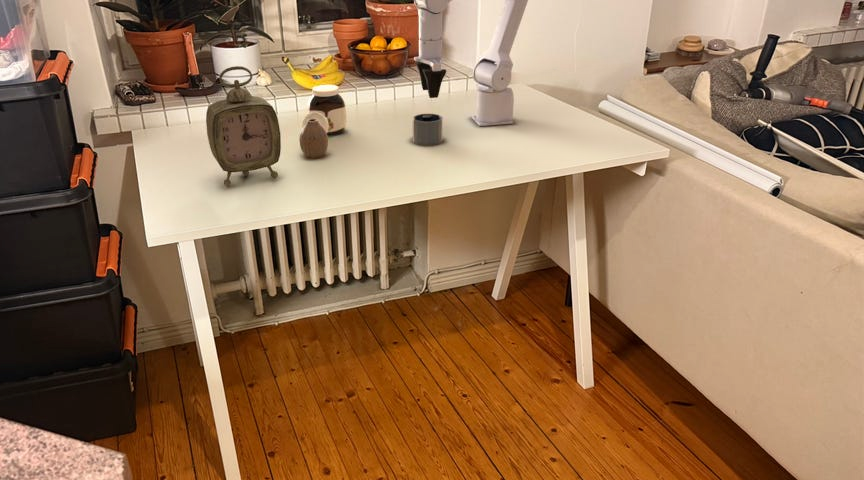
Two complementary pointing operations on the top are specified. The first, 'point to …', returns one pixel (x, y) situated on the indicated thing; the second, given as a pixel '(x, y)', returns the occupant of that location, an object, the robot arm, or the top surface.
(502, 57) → the robot arm
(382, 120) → the top surface
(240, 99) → the tabletop clock
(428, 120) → the grey upright block
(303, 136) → the vase
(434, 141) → the grey plastic cup
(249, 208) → the top surface
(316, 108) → the spread jar
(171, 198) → the top surface
